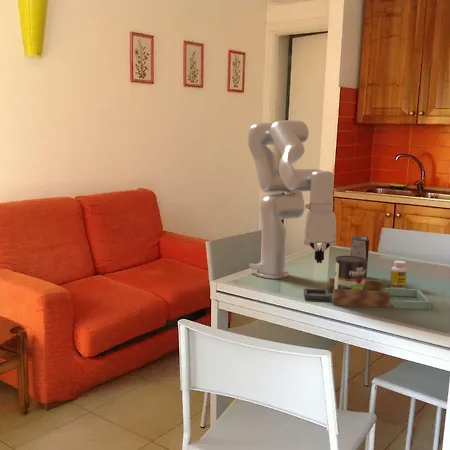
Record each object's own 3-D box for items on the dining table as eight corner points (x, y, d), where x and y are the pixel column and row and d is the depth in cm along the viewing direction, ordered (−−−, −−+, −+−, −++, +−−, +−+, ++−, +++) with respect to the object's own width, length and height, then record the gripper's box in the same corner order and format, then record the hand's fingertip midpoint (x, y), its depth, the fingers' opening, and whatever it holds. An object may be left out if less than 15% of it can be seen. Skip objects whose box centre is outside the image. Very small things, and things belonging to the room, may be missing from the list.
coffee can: (370, 301, 184) (373, 261, 182) (345, 305, 180) (347, 263, 178) (351, 293, 193) (354, 254, 191) (327, 296, 189) (329, 256, 187)
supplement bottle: (397, 290, 198) (399, 264, 196) (386, 286, 203) (388, 260, 201) (408, 288, 201) (410, 262, 199) (397, 284, 205) (399, 259, 204)
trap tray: (304, 300, 184) (305, 295, 184) (303, 293, 192) (303, 288, 192) (329, 301, 183) (329, 296, 183) (326, 294, 191) (327, 289, 191)
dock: (393, 307, 178) (394, 300, 178) (384, 294, 193) (385, 287, 193) (430, 309, 177) (430, 302, 177) (418, 295, 192) (418, 289, 192)
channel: (333, 304, 180) (333, 290, 179) (328, 291, 195) (329, 278, 194) (389, 307, 178) (390, 292, 178) (380, 294, 193) (381, 280, 192)
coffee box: (366, 282, 208) (369, 240, 205) (349, 281, 209) (352, 239, 206) (365, 276, 216) (368, 236, 214) (349, 275, 218) (351, 235, 215)
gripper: (298, 209, 179) (297, 264, 182) (345, 210, 178) (342, 265, 181) (297, 206, 187) (296, 259, 189) (342, 207, 185) (340, 260, 188)
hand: (319, 262), depth 185 cm, fingers closed
